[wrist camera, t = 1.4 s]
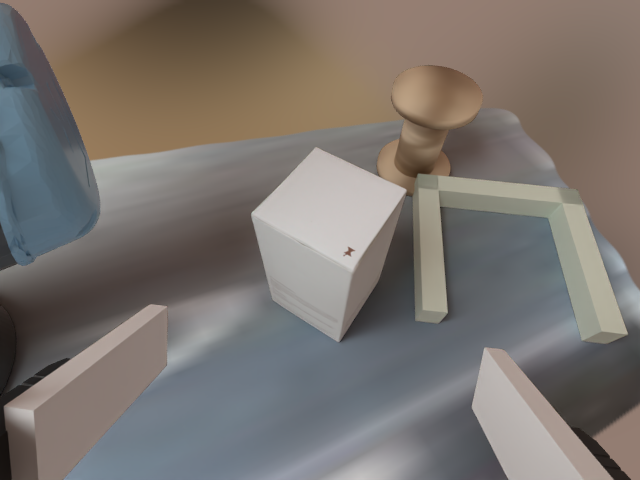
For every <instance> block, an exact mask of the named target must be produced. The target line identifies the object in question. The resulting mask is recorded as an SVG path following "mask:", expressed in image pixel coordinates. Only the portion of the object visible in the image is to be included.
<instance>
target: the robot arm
mask: <svg viewBox="0 0 640 480" xmlns="http://www.w3.org/2000/svg"><path fill="white" fill-rule="evenodd" d="M99 214H100V197H99V191H98V187H97V183H96V179H95V176H94V173H93V169H92V166H91V163H90V160H89V157H88V154H87V151H86V149H85V146H84V143H83V141H82V138H81V135H80V133H79V130H78V127H77V125H76V122H75V120H74V117H73V115H72V113H71V110H70V108H69V106H68V103H67V101H66V98H65V96H64V94H63V92H62V89H61V87H60V85H59V83H58V81H57V79H56V76H55V74H54V72H53V70H52V68H51V66H50V64H49V62H48V60H47V58H46V56H45V54H44V52H43V50H42V49H41V47H40V45H39V44H38V43H37V42H36V40H35V38H34V36H33V35H32V33H31V31H30V28H29V26H28V24H27V23H26V21H25V20H24V19H23V17H22V16H21V15H20V14H19V13H18V12H17V11H16V10H15V9H14V8H12V7H11V6H9V5H8V4H4V3H0V271H1V270H3V269H6V268H8V267H11V266H14V265H16V264H19V265H22V266H25V265H28V264H30V263H32V262H34V260H35V259H36V257H37V256H40V255H42V254H44V253H47V252H49V251H51V250H54V249H56V248H58V247H60V246H63V245H65V244H67V243H70V242H72V241H74V240H77V239H79V238H81V237H83V236H84V235H86V234H87V233H88V232H90V231H91V230H92V229H93V227H94V226H95V224H96V223H97V220H98V217H99ZM167 324H168V306H161V305H153V304H150V305H148V306H147V307H145V308H144V309H142V310H141V311H140V312H138V313H137V314H135V315H134V316H132V317H131V318H130V319H128V320H127V321H125V322H124V323H122V324H121V325H119V326H118V327H117V328H115V329H114V330H112V331H111V332H109V333H108V334H107V335H105V336H104V337H102V338H101V339H99V340H98V341H97V342H95V343H94V344H92V345H91V346H89V347H88V348H87V349H85V350H84V351H82V352H81V353H79V354H78V355H76V356H75V357H74V358H72V359H70V358H66V359H63V360H61V361H58V362H56V363H53V364H51V365H49V366H47V367H46V368H44V369H43V370H41V371H40V372H38V373H37V374H35V375H34V377H31V378H29V379H28V380H26V381H25V382H23V383H22V385H19V386H17V387H16V388H14V389H12V390H11V391H9V392H8V393H6V394H5V395H3V396H2V397H0V480H63V479H64V478H65V477H66V476H67V474H68V473H69V472H70V471H71V470H72V469H73V468H74V467H75V466H76V465H77V463H78V462H79V461H80V460H81V459H82V458H83V457H84V456H85V455H86V454H87V453H88V451H89V450H90V449H91V448H92V447H93V446H94V445H95V444H96V443H97V442H98V440H99V439H100V438H101V437H102V436H103V435H104V434H105V433H106V432H107V431H108V429H109V428H110V427H111V426H112V425H113V424H114V423H115V422H116V421H117V420H118V418H119V417H120V416H121V415H122V414H123V413H124V412H125V411H126V410H127V409H128V407H129V406H130V405H131V404H132V403H133V402H134V401H135V400H136V399H137V398H138V396H139V395H140V394H141V393H142V392H143V391H144V390H145V389H146V388H147V387H148V386H149V384H150V383H151V382H152V381H153V380H154V379H155V378H156V377H157V376H158V375H159V373H160V372H161V371H162V370H163V369H164V368H165V367H166V366H167ZM15 351H16V335H15V329H14V325H13V322H12V320H11V318H10V316H9V314H8V313H7V311H6V310H5V309H4V308H3V307H2V306H1V305H0V394H1V392H2V390H3V389H4V387H5V384H6V382H7V380H8V377H9V375H10V372H11V369H12V366H13V362H14V358H15ZM472 409H473V411H474V413H475V415H476V417H477V419H478V421H479V423H480V425H481V427H482V429H483V431H484V433H485V435H486V437H487V439H488V441H489V443H490V445H491V447H492V448H493V450H494V452H495V454H496V456H497V458H498V460H499V462H500V464H501V466H502V468H503V470H504V472H505V474H506V476H507V478H508V480H631V479H630V478H629V477H628V476H627V475H626V474H625V473H624V472H623V471H621V469H620V467H619V466H618V465H617V464H616V463H615V461H614V460H612V459H610V456H609V455H608V454H607V453H606V451H605V450H604V449H603V448H602V447H601V446H600V445H599V444H598V442H597V441H595V440H594V439H593V438H591V437H590V436H589V435H587V434H586V433H585V432H583V431H582V430H580V429H579V428H573V427H569V426H568V425H567V424H566V423H565V421H564V420H563V419H562V418H561V417H560V415H559V414H558V413H557V412H556V411H555V409H554V408H553V407H552V406H551V405H550V404H549V402H548V401H547V400H546V399H545V398H544V396H543V395H542V394H541V393H540V392H539V391H538V389H537V388H536V387H535V386H534V385H533V383H532V382H531V381H530V380H529V379H528V378H527V376H526V375H525V374H524V373H523V372H522V370H521V369H520V368H519V367H518V366H517V364H516V363H515V362H514V361H513V360H512V359H511V357H510V356H509V355H508V354H507V353H506V351H505V350H502V349H495V348H487V347H484V352H483V357H482V361H481V366H480V371H479V375H478V380H477V385H476V389H475V394H474V399H473V403H472Z"/></svg>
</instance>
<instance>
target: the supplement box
mask: <svg viewBox="0 0 640 480" xmlns="http://www.w3.org/2000/svg"><path fill="white" fill-rule="evenodd" d="M406 193H407V190H406V189H405V188H403V187H400V186H398V185H396V184H394V183H392V182H389V181H387V180H385V179H383V178H381V177H379V176H376V175H374V174H372V173H370V172H368V171H366V170H364V169H362V168H359V167H357V166H355V165H353V164H351V163H349V162H347V161H345V160H342V159H340V158H338V157H336V156H334V155H332V154H330V153H328V152H325V151H323V150H321V149H319V148H317V147H316V148H314V150H313V151H312V152H311V153H310V154H309V155H308V156H307V157H306V158H305V159H304V160H303V161H302V162H301V163H300V164H299V165H298V166H297V167H296V168H295V169H294V170H293V172H292V173H291V174H290V175H289V176H288V177H287V178H286V179H285V180H284V181H283V182H282V183H281V184H280V185H279V186H278V187H277V188H276V189H275V190H274V191H273V192H272V193H271V194H270V195H269V196H268V197H267V198H266V199H265V200H264V201H263V202H262V203H261V204H260V205H259V206H258V207H257V208H256V209H255V210H254V211H253V212H252V213H251V217H252V221H253V225H254V229H255V233H256V237H257V241H258V245H259V248H260V253H261V257H262V261H263V265H264V269H265V273H266V277H267V281H268V285H269V289H270V293H271V297H272V300H273V301H275V302H276V303H278V304H279V305H281V306H282V307H284V308H285V309H287V310H288V311H290V312H291V313H293V314H294V315H296V316H298V317H299V318H301V319H302V320H304V321H305V322H307V323H309V324H310V325H312V326H313V327H315V328H316V329H318V330H320V331H321V332H323V333H324V334H326V335H327V336H329V337H331V338H332V339H334V340H335V341H337V342H340V341H341V339H342V337H343V336H344V334H345V333H346V331H347V330H348V328H349V327H350V325H351V323H352V322H353V320H354V319H355V317H356V316H357V314H358V313H359V311H360V310H361V308H362V306H363V305H364V303H365V302H366V300H367V298H368V297H369V295H370V294H371V292H372V291H373V289H374V287H375V286H376V284H377V283H378V281H379V278H380V275H381V272H382V269H383V265H384V262H385V259H386V256H387V253H388V250H389V247H390V243H391V241H392V237H393V234H394V231H395V228H396V225H397V222H398V218H399V215H400V212H401V209H402V206H403V203H404V199H405V196H406Z"/></svg>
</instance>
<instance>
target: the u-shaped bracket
mask: <svg viewBox="0 0 640 480" xmlns="http://www.w3.org/2000/svg"><path fill="white" fill-rule="evenodd" d="M412 197H413V241H414V286H415V321H421V322H429V323H437V324H439V323H440V321H441V320H442V319H443V318H444V317H445V316H446V314H447V313H448V310H447V296H446V283H445V269H444V256H443V242H442V229H441V215H440V207H448V208H458V209H467V210H477V211H486V212H496V213H505V214H515V215H524V216H534V217H543V218H548V220H549V223H550V227H551V231H552V234H553V238H554V241H555V245H556V249H557V252H558V256H559V260H560V263H561V267H562V271H563V274H564V278H565V282H566V285H567V289H568V292H569V296H570V300H571V303H572V307H573V311H574V314H575V318H576V322H577V325H578V329H579V333H580V336H581V340H582V341H585V342H594V343H602V344H608V343H610V342H612V341H614V340H617V339H619V338H621V337H624V336H626V335H628V333H627V330H626V327H625V324H624V321H623V319H622V316H621V313H620V310H619V307H618V304H617V301H616V298H615V296H614V293H613V290H612V287H611V284H610V281H609V278H608V275H607V273H606V270H605V267H604V264H603V261H602V258H601V255H600V252H599V250H598V247H597V244H596V241H595V238H594V235H593V232H592V229H591V227H590V224H589V221H588V218H587V215H586V212H585V209H584V206H583V204H582V201H581V198H580V195H579V192H578V190H577V189H567V188H557V187H547V186H537V185H527V184H518V183H508V182H498V181H488V180H478V179H468V178H458V177H448V176H438V175H429V174H419V173H418V175H417V178H416V180H415V191H414V194H413V196H412Z"/></svg>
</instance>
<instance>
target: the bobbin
mask: <svg viewBox="0 0 640 480" xmlns="http://www.w3.org/2000/svg"><path fill="white" fill-rule="evenodd" d="M391 101H392V104H393V106H394V108H395V109H396V111H397V112H398V113H399V114H400V115H401V116H402V117H404V118H405V120H404V124H403V128H402V132H401V135H400V139H398V140H395V141H392V142H390V143H388V144H387V145H385V146H384V147H383V148H382V150H381V151H380V153H379V156H378V160H377V173H378V175H379V177H381V178H383V179H385V180H387V181H389V182H392V183H394V184H396V185H398V186H400V187H403V188H405V189H406V190H407V193H406V195H407V196H413V194H414V191H415V180H416V178H417V175H418V173H419V174H429V175H438V176H448V177H449V174H450V163H449V160H448V158H447V156H446V155H445V154H444V153H443V152H442V151H441V149H442V146H443V144H444V141H445V139H446V136H447V134H448V131H449V130H450V129H456V128H460V127H463V126H465V125H467V124H469V123H470V122H472V121H473V120H474V119H475V117H476V116H477V114H478V111H479V109H480V107H481V105H482V102H483V95H482V92H481V89H480V88H479V86H478V85H477V84H476V83H475V82H474V81H473V80H472V79H471V78H469V77H468V76H466V75H465V74H463V73H461V72H459V71H456V70H453V69H450V68H447V67H442V66H433V65H425V66H418V67H413V68H410V69H407V70H405V71H403V72H402V73H401V74H399V75H398V76H397V77H396V79H395V81H394V84H393V88H392V94H391Z"/></svg>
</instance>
